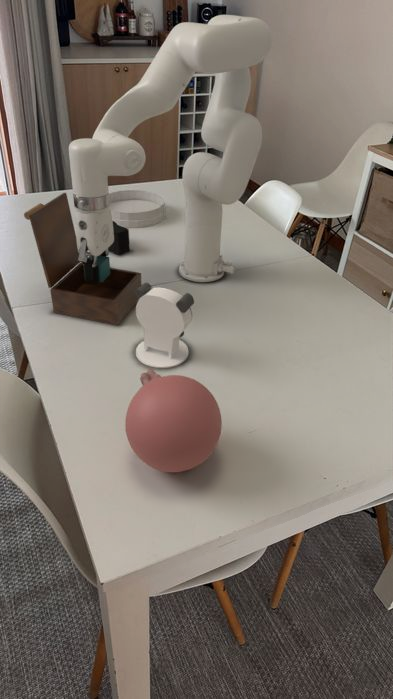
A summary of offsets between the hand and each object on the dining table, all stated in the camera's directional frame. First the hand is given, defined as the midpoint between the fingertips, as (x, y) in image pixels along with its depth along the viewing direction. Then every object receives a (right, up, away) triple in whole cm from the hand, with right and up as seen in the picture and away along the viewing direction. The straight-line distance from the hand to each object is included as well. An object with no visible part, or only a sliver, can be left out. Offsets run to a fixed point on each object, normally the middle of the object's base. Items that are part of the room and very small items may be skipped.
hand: (97, 275), depth 121 cm
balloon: (+19, -35, -33) cm, 51 cm away
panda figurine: (+16, -18, -11) cm, 27 cm away
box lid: (-9, +8, -2) cm, 12 cm away
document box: (-1, -6, +5) cm, 8 cm away
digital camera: (-1, +13, +31) cm, 34 cm away
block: (0, 0, 0) cm, 0 cm away
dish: (+2, +28, +53) cm, 60 cm away
